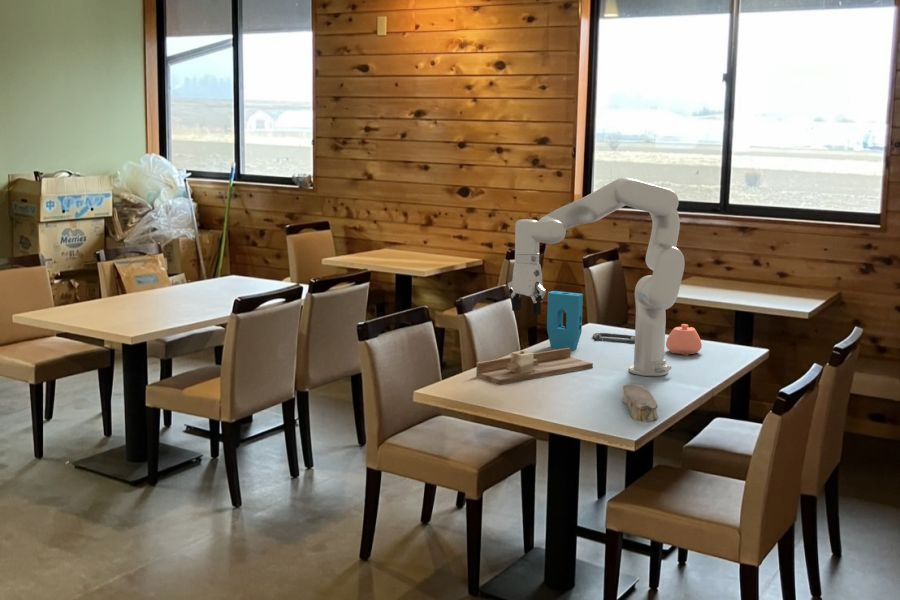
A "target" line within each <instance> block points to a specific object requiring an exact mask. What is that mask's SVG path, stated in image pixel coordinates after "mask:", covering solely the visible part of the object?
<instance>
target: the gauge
mask: <svg viewBox="0 0 900 600" xmlns="http://www.w3.org/2000/svg"><path fill="white" fill-rule="evenodd" d="M510 355H511V356H510V357H511V363H508V364H506V370H511V371H513V372H516V373H519V374H524V373H530V372H533V366H538V361H539V360H537V359H533V356H534V354H533V352H529V351H526V350H520V351H519V350H518V351H513V352H511V353H510Z"/></svg>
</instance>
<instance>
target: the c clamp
mask: <svg viewBox="0 0 900 600" xmlns="http://www.w3.org/2000/svg"><path fill="white" fill-rule="evenodd" d="M592 338H594V339H595V340H596V341H597V342H599V341H604V342H617V343H627V344H633V345H635V335H629V334H620V333H619V334H618V333H611V332H596V333H593V334H592Z"/></svg>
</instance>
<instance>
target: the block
mask: <svg viewBox="0 0 900 600" xmlns="http://www.w3.org/2000/svg"><path fill="white" fill-rule="evenodd" d="M583 297H584V294H583V293H577V292H568V291H558V290H551V291H548V292H547V316H546V318H547V319H546V320H547V321H546V322H547V323H546V331H547V334H548V335H547V336H548V340H549V345H550V348H551V349H553V350H558V349H564V348H571V351H575V350H577V349H578V345H579V342H580V338H581V336H582V332H583V331H582V330H583V303H584V302H583V300H584V298H583ZM564 313H565V314H566V315H565V318H566V319H565V326H564Z"/></svg>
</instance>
